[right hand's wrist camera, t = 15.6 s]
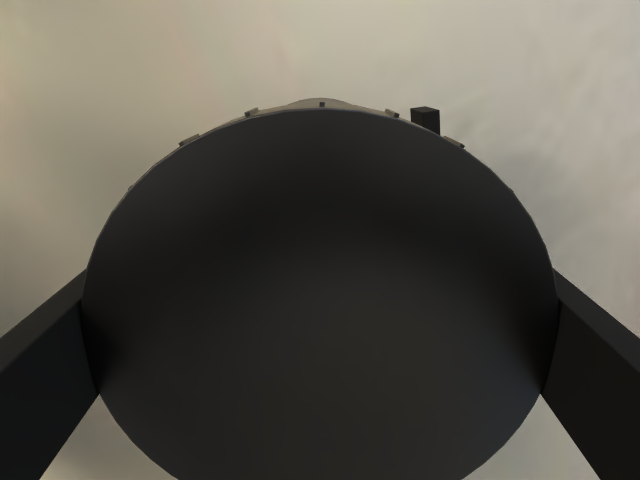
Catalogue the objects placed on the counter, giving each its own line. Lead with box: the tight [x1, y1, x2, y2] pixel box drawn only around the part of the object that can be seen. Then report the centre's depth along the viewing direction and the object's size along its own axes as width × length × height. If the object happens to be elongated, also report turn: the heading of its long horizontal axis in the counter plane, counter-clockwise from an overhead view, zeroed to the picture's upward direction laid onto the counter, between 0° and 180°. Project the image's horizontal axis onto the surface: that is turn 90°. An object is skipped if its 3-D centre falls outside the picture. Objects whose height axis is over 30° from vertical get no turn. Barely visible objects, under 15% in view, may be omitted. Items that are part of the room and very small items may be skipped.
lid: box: [81, 99, 558, 480], centre depth 11 cm, size 12×12×2 cm
